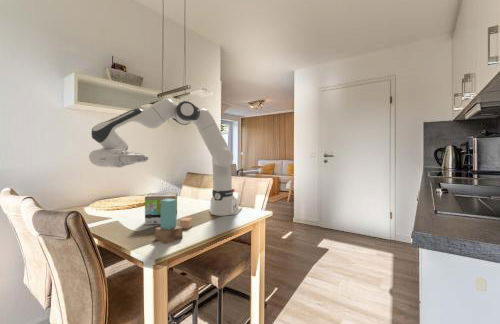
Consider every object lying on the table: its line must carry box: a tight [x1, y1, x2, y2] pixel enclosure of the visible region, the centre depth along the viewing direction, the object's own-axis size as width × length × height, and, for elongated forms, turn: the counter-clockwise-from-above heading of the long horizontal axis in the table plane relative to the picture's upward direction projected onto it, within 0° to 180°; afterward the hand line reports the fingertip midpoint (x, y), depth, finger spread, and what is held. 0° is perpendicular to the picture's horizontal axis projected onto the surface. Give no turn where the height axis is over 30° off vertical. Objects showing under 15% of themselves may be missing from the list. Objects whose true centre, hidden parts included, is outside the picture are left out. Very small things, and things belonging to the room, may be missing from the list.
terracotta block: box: [179, 217, 193, 229], centre depth 121 cm, size 4×4×4 cm
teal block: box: [160, 198, 177, 230], centre depth 104 cm, size 4×4×12 cm
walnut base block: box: [154, 224, 184, 245], centre depth 105 cm, size 8×8×5 cm
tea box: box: [144, 192, 178, 226], centre depth 129 cm, size 15×10×15 cm, turn 101°
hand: (139, 158), depth 112 cm, fingers open, 8 cm apart
